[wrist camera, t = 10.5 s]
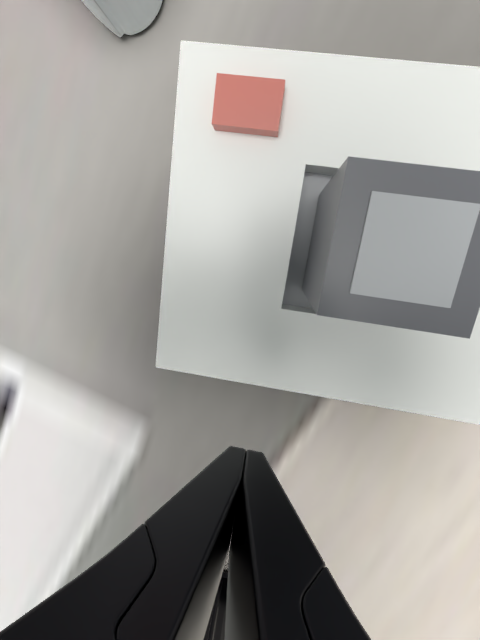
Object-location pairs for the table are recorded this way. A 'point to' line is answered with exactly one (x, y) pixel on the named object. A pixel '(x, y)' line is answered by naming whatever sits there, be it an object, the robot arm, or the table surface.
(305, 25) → the table surface
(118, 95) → the table surface
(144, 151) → the table surface
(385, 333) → the socket plate
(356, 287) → the plug
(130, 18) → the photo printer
